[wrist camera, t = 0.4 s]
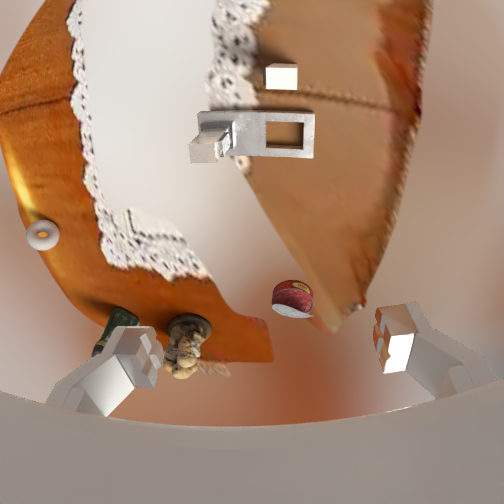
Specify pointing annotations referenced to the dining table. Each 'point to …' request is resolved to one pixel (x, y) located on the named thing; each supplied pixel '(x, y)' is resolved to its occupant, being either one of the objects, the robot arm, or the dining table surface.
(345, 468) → the robot arm
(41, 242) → the donut
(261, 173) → the dining table surface
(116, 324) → the coffee jar
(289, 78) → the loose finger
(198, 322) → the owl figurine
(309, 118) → the steel rail
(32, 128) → the dining table surface
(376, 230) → the dining table surface
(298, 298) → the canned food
